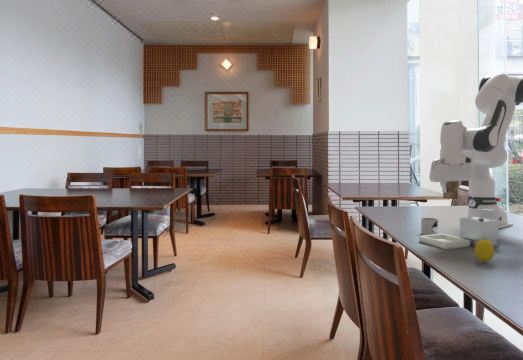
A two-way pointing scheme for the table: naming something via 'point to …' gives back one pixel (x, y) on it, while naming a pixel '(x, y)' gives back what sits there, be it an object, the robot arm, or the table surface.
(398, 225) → the table surface
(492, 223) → the block
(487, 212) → the skincare box
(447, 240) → the tray
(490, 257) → the lemon
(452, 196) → the block
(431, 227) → the mug
